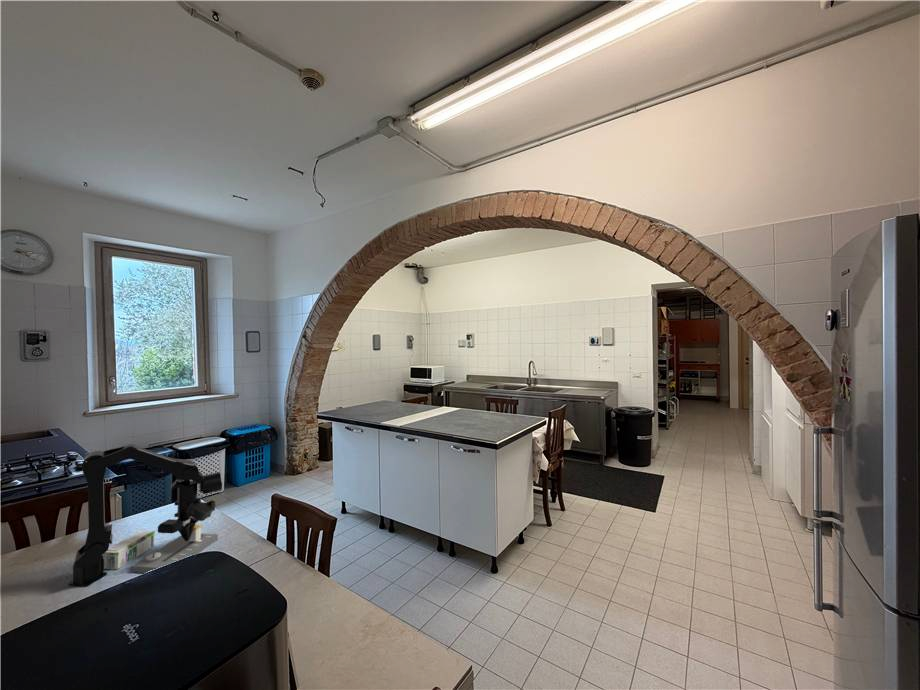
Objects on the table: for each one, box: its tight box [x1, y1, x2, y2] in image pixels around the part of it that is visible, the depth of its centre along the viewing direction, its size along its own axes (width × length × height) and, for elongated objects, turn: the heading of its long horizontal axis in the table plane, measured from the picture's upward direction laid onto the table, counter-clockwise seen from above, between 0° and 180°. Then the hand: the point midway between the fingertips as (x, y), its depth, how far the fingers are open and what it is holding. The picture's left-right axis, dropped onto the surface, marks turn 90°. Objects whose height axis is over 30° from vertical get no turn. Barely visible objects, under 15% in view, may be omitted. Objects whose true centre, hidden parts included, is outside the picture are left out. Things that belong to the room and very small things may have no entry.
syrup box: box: [102, 530, 155, 570], centre depth 131 cm, size 6×6×14 cm
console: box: [130, 532, 219, 574], centre depth 133 cm, size 22×13×3 cm, turn 175°
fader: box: [188, 524, 202, 542], centre depth 138 cm, size 3×3×5 cm
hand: (187, 540), depth 135 cm, fingers closed
